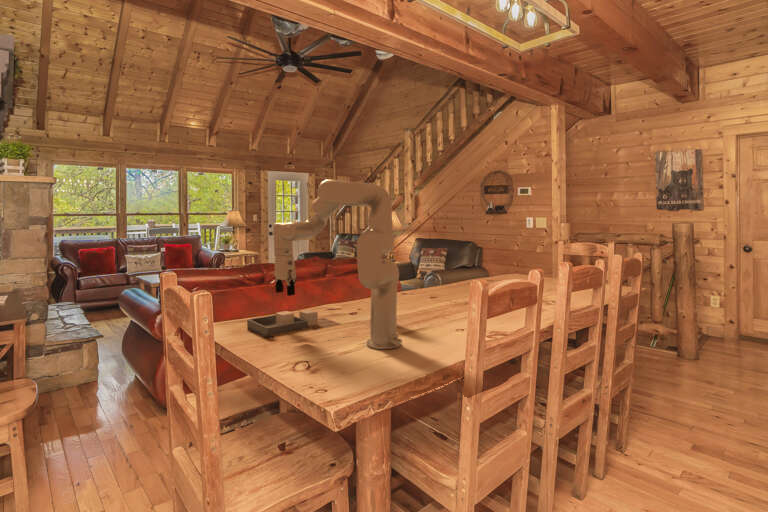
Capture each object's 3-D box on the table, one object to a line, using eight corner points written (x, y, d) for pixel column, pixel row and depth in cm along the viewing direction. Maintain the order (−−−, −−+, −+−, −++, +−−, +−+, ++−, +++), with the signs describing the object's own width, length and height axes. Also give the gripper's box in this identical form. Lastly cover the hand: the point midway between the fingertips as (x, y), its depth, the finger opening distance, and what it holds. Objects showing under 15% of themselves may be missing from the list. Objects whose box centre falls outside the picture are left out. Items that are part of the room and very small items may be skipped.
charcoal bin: (307, 330, 184) (307, 320, 184) (267, 338, 173) (267, 328, 172) (286, 321, 198) (286, 313, 198) (247, 328, 186) (247, 319, 186)
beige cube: (317, 324, 190) (317, 311, 190) (306, 326, 187) (306, 313, 186) (310, 321, 194) (310, 309, 194) (299, 323, 191) (299, 311, 190)
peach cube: (294, 326, 187) (294, 313, 187) (282, 328, 184) (282, 315, 183) (287, 323, 191) (287, 310, 191) (276, 325, 188) (275, 312, 187)
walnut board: (342, 326, 191) (342, 324, 191) (313, 332, 182) (313, 329, 182) (323, 320, 201) (323, 317, 201) (296, 325, 192) (296, 323, 192)
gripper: (302, 253, 180) (303, 295, 182) (281, 250, 193) (283, 290, 195) (285, 254, 175) (287, 297, 177) (265, 252, 188) (267, 292, 190)
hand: (285, 293), depth 186 cm, fingers open, 9 cm apart
